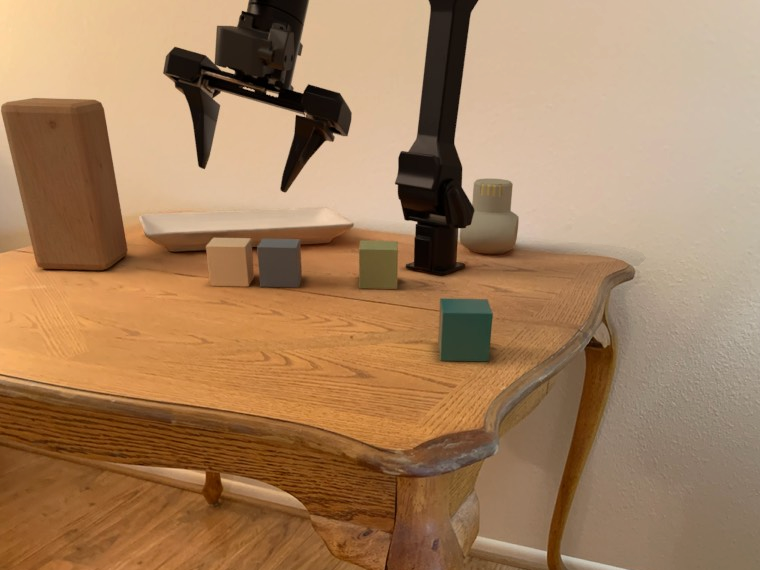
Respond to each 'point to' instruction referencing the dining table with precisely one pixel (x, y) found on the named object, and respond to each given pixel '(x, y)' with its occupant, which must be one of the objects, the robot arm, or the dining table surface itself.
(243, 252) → the cream block
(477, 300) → the teal block
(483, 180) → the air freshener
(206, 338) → the dining table surface
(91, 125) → the wooden block
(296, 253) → the slate block
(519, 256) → the dining table surface
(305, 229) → the tray
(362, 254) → the sage block
